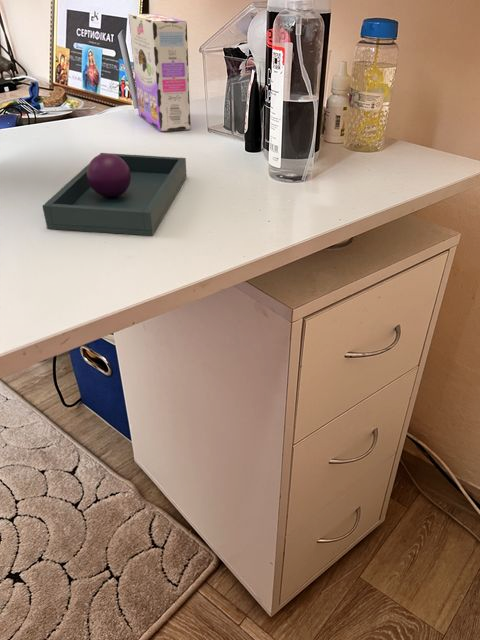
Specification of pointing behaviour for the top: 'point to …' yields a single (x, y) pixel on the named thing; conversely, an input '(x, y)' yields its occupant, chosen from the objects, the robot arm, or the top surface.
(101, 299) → the top surface
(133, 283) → the top surface
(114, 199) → the tray
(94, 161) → the grape
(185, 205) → the top surface
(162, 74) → the candy box
